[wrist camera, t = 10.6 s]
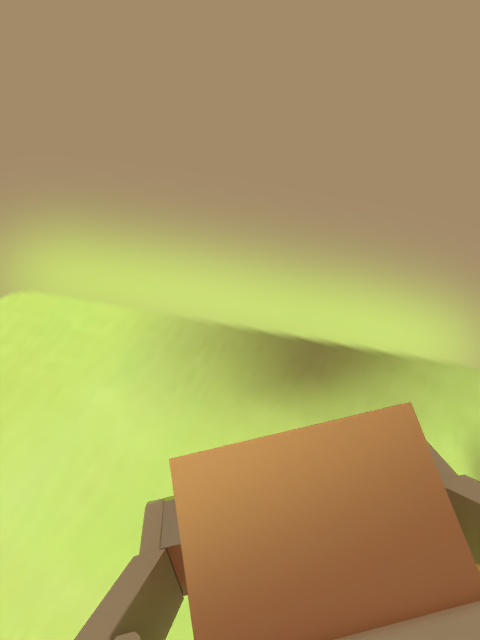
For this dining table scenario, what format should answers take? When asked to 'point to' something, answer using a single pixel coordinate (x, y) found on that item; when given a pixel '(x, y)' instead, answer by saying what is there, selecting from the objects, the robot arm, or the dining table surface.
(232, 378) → the dining table surface
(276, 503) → the terracotta block
